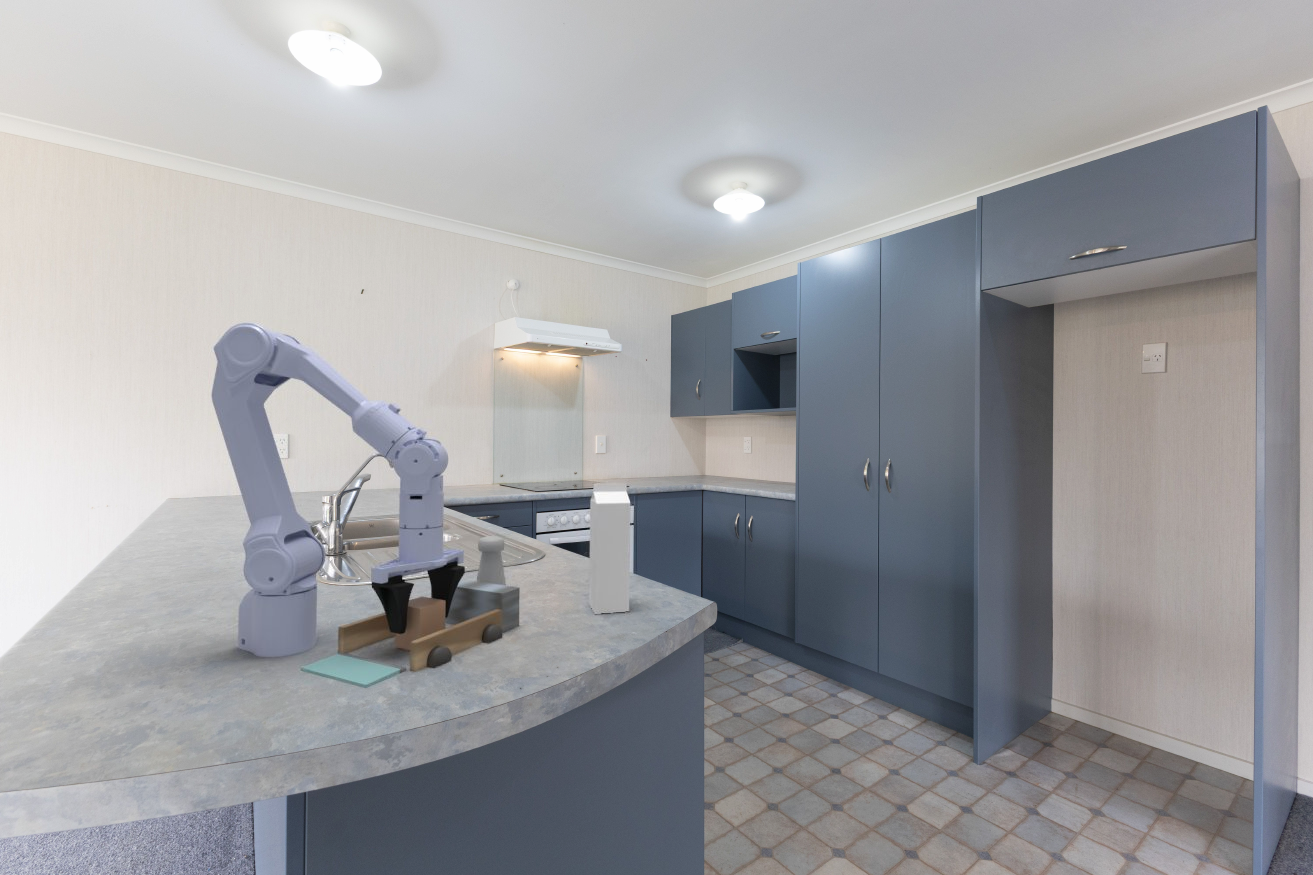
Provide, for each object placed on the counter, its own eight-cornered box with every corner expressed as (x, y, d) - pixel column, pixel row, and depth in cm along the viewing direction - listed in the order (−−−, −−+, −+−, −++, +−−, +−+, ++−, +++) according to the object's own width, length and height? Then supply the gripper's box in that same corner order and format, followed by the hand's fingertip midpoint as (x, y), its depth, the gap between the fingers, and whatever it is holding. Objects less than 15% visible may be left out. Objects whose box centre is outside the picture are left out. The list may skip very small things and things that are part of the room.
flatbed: (331, 658, 79) (332, 607, 79) (443, 618, 97) (444, 576, 97) (423, 680, 72) (423, 624, 72) (525, 633, 90) (525, 588, 90)
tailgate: (342, 658, 78) (300, 674, 72) (342, 650, 78) (300, 666, 72) (406, 673, 73) (366, 692, 68) (406, 665, 73) (366, 683, 68)
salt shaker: (498, 620, 96) (499, 540, 96) (465, 618, 97) (466, 538, 97) (513, 610, 102) (514, 534, 102) (483, 608, 103) (484, 533, 103)
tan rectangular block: (395, 648, 81) (396, 604, 81) (421, 638, 85) (422, 596, 85) (419, 653, 79) (420, 608, 79) (444, 643, 83) (445, 600, 83)
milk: (629, 612, 102) (631, 484, 102) (594, 615, 100) (596, 484, 100) (621, 602, 108) (623, 481, 108) (588, 605, 106) (590, 481, 106)
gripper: (399, 535, 74) (398, 644, 74) (480, 521, 87) (478, 614, 87) (360, 531, 77) (358, 636, 77) (443, 518, 90) (442, 608, 90)
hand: (420, 624), depth 82 cm, fingers open, 7 cm apart
